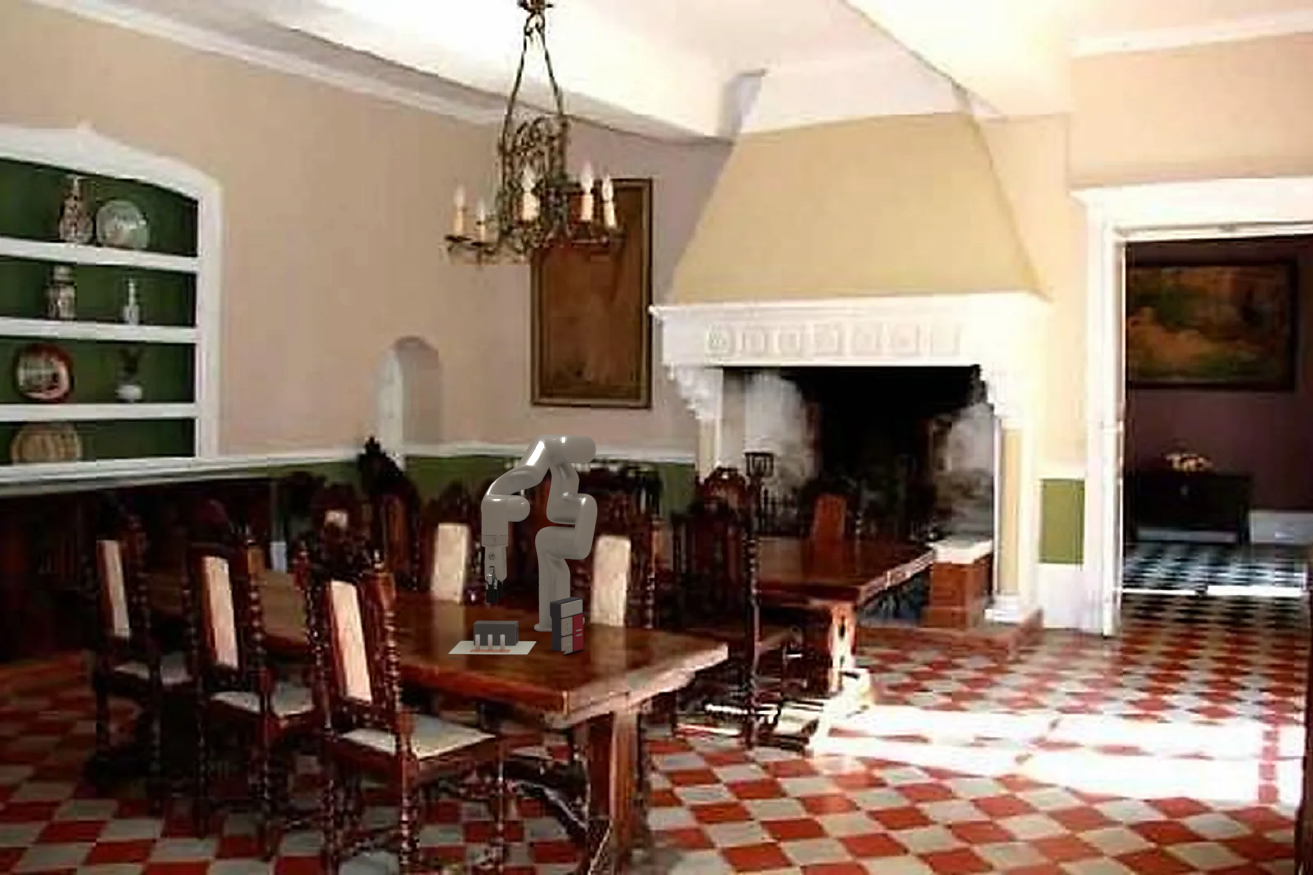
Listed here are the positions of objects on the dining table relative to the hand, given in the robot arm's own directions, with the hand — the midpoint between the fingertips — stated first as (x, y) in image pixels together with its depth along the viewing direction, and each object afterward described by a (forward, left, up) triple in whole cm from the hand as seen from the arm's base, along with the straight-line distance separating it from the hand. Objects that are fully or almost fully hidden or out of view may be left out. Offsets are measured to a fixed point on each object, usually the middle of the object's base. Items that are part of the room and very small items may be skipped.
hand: (494, 600), depth 397 cm
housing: (0, -1, -13) cm, 13 cm away
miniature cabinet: (-21, +3, -14) cm, 26 cm away
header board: (0, +4, -14) cm, 15 cm away
